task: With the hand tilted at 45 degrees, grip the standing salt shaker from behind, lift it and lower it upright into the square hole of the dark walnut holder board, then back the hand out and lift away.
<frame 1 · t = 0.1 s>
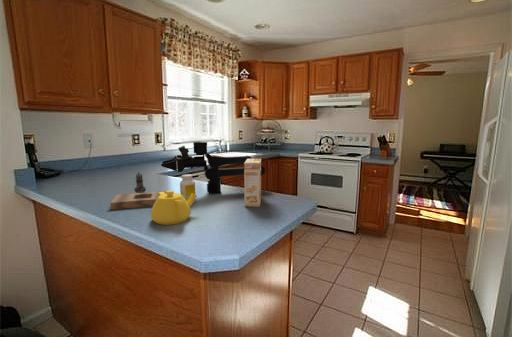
hand: (161, 163, 129), 17 cm above the countertop, tool horizontal, fingers open, 9 cm apart
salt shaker: (140, 195, 135), on the countertop
coffeecake box: (253, 202, 122), on the countertop
teapot: (176, 218, 102), on the countertop
supplement bottle: (188, 202, 122), on the countertop
holder board: (143, 202, 121), on the countertop
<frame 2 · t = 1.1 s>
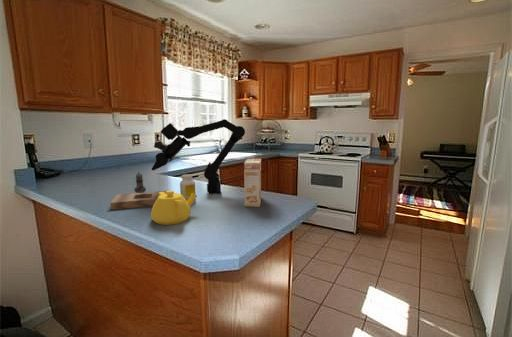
hand: (154, 168, 133), 14 cm above the countertop, tool tilted 45°, fingers open, 9 cm apart
nothing on the countertop moved.
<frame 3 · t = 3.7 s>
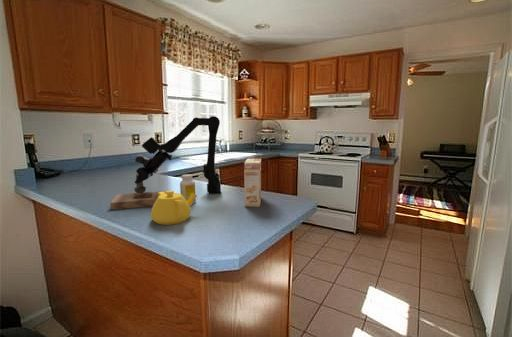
hand: (136, 182, 134), 7 cm above the countertop, tool tilted 45°, fingers closed on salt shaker, 4 cm apart
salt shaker: (140, 195, 135), on the countertop, touching gripper
everything else where it was.
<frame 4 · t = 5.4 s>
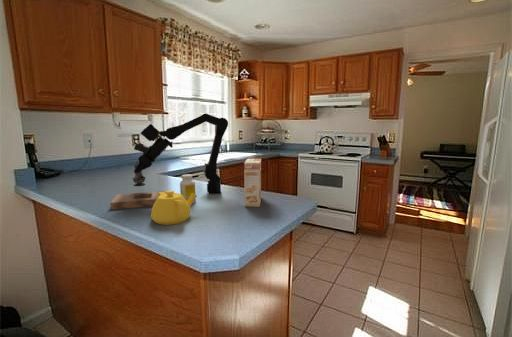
hand: (135, 171, 126), 13 cm above the countertop, tool tilted 45°, fingers closed on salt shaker, 4 cm apart
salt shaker: (139, 185, 128), point 6 cm above the countertop, touching gripper
everything else where it was.
when the fingers open (8 cm above the countertop, at t = 7.6 s): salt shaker drops 1 cm, resting in holder board.
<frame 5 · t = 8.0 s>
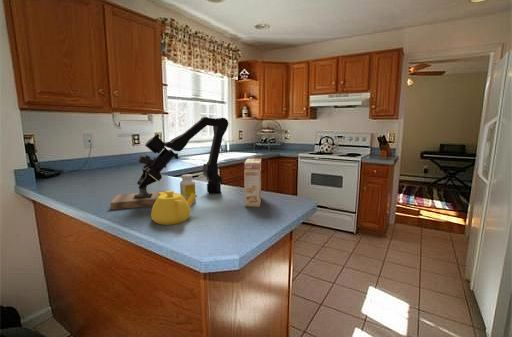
hand: (138, 185, 119), 8 cm above the countertop, tool tilted 45°, fingers open, 8 cm apart
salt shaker: (143, 202, 122), resting in holder board
everything else where it was.
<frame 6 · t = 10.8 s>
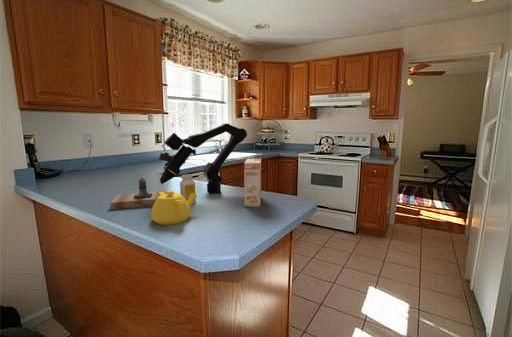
hand: (160, 182, 125), 8 cm above the countertop, tool tilted 40°, fingers open, 9 cm apart
nothing on the countertop moved.
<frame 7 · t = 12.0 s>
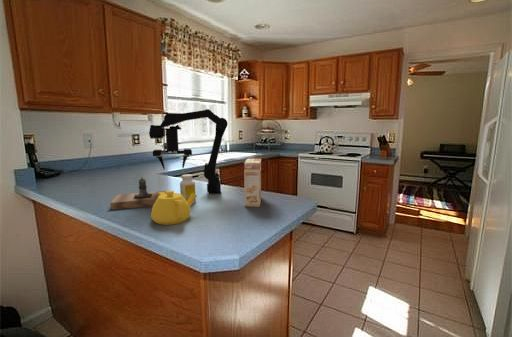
hand: (173, 169, 135), 13 cm above the countertop, tool pointing down, fingers open, 9 cm apart
nothing on the countertop moved.
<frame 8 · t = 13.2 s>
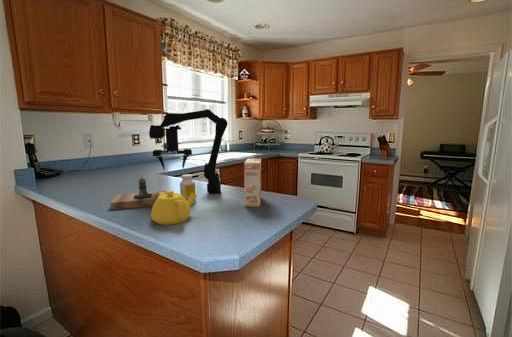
hand: (173, 169, 135), 13 cm above the countertop, tool pointing down, fingers open, 9 cm apart
nothing on the countertop moved.
at the end: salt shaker 0.2 cm off-centre on the holder board, point 0.0 cm above the holder board's base; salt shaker tilted 0°; the gripper is holding nothing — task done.
